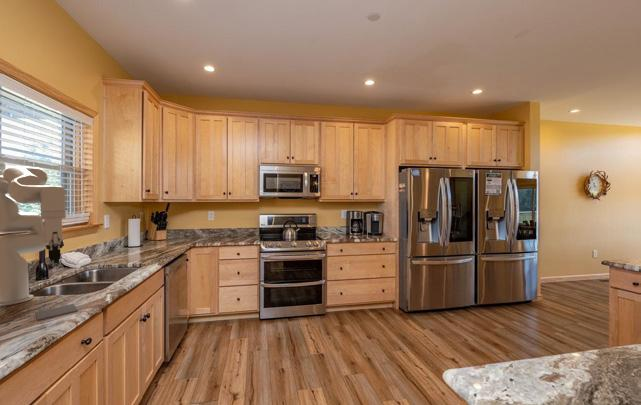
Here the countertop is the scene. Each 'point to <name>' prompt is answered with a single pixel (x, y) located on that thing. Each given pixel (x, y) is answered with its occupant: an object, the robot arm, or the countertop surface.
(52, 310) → the charcoal mat
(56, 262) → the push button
